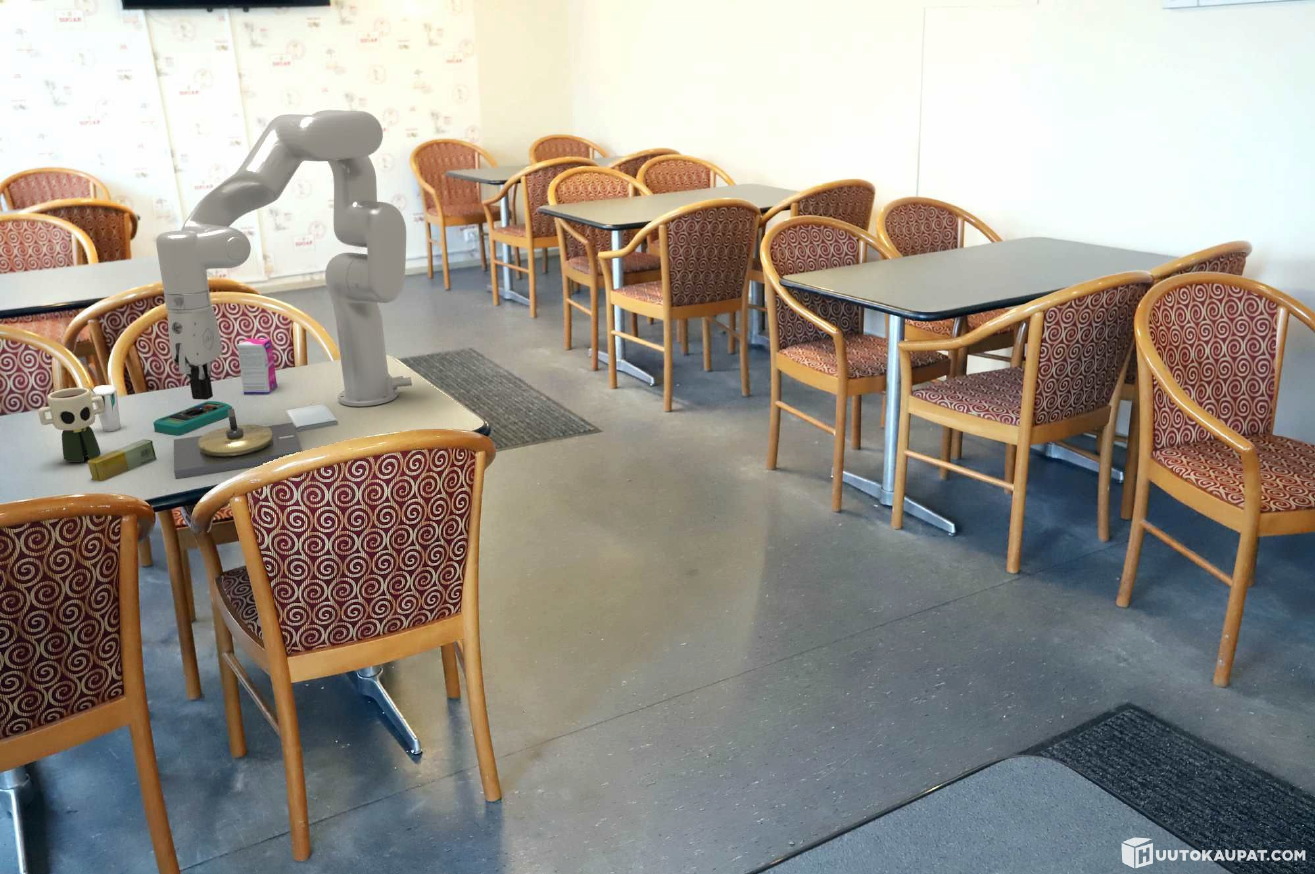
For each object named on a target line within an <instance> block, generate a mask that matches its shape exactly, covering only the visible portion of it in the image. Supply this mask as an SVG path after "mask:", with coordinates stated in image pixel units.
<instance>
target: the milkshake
mask: <svg viewBox="0 0 1315 874" xmlns="http://www.w3.org/2000/svg"><path fill="white" fill-rule="evenodd" d="M88 387H89V388H88V389H89V390H90V395H91V397H92V398H93V397H98V396H99V397H102V398H103V402H104V407H105V412H103V413H101V414H97V415H98V418H99V421H100V425H101V429H102V431H103V432H109V433H110V432H117V431H118V430H120V429H121V427H122V425H121V419H120V418H121V417H120V410H119V409H120V408H119V400H118V391H117V388H116V387H115V386H114V385H111V384H106V385H105V384H104V385H103V384H102V385H97V386H95V387H94V388H92V386H88ZM94 405H95V408H96V409H99V406H98V402H94Z"/></svg>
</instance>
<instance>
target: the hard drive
mask: <svg viewBox="0 0 1315 874" xmlns="http://www.w3.org/2000/svg"><path fill="white" fill-rule="evenodd" d="M285 415H286V417H287V419H288V421H289V423H293V425H294V428H295V431H296V433H298V432H303V431H309V430H315V429H321V428H326V427H333V426H339V422H338V420H337V418H336V417H335V415H334V414H333V413H332V412H331V410H330V409H329V408H328V407H327V406H326V404H324V403H323V404H315V405H309V406H304V407H297V408H292V409H291V408H290V409H287V410H285Z"/></svg>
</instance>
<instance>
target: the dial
mask: <svg viewBox="0 0 1315 874" xmlns="http://www.w3.org/2000/svg"><path fill="white" fill-rule="evenodd" d="M227 410H228V416H229V417H228V420H229V421H228V422H229V426H226V427H221V428H219V429H217V428H216V429H215V430H213V431H209V432H207V433H205V434H203V436H202V435H201V436H202V437H201V438H200V439H199V441H198V443H199V448H200V451H201V452H202V453H204V454H206V455H211V456H234V455H241V454H246V453H250V452H254V451H257V450H260V449H262V448H264V447H266V446H268V445H269V444H271V442H272V441H273V437H272V431H271V429H269V428H268V427H265V426H263V425H259V424H258V425H257V424H240V425H237V424H238V422H237V417H236V412H235V408H232V409H227Z"/></svg>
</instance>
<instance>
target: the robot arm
mask: <svg viewBox="0 0 1315 874" xmlns="http://www.w3.org/2000/svg"><path fill="white" fill-rule="evenodd" d="M383 138H384V131H383V127H382V125H381V123H380V121H379V120H378V119H377V118H376V117H375V116H374V115H373V114H372V113H369V112H367V111H363V110H339V109H338V110H337V109H335V110H333V109H328V110H326V109H325V110H320V111H316V112H315V113H312V114H293V113H292V114H288V113H287V114H282V115H281V114H280V115H278V116H276V117H274V118H273V119H271V121H270V122H269V123H268V125H267V126H266V128H265V129H264V131H263V132H262V133H261V135H260V137H259V138H258V139H257V141H256V142H255V144H254V145H253V147H252V149H251V151H250V152H249V153H248V155H247V156H246V158H245V159H244V161H243V162H242V164H241V165H240V167H239V168H238V169H237V171H236V172H235V173H234V174H232V175H231V176H229V177H228V178H226V179H225V180H224V181H222V182H221V183H220V184H219V185H217V186H216V187H215V188H213V189H212V190H211V191H209V193H207V194H206V195H205V196H204V197H202V199H201V200H200V201H199V202H198V203H197V204H196V206H195V207H194V208H193V210H192V211H191V213H190V215H188V217H187V219H186V220H185V222H184V223H183V226H182V227H181V229H180V230H170V231H166V232H162V233H160V234H159V235H157V237H156V240H155V244H156V245H155V246H156V250H157V259H158V264H159V269H160V270H159V271H160V276H161V283H162V289H163V296H164V303H165V308H166V312H167V326H168V328H167V329H168V340H169V348H170V349H169V350H170V354H171V359H172V362H173V364H174V365H175V366H177V367H178V373H179V374H180V375H186V376H187V380H189V384H190V391H191V398H192V399H193V400H205V401H206V400H207V401H209V400H210V399H211V398H213V396H214V394H213V387H212V381H211V380H212V379H211V375H212V364H213V362H215V360H216V359H218V358H219V357H221V355H222V354H223V344H222V339H221V333H220V329H219V324H218V320H217V316H216V312H215V310H214V306H213V304H212V301H211V293H210V287H209V280H208V274H207V273H208V272H207V271H208V270H210V269H212V270H213V269H214V270H215V269H234V268H236V267H239V266H241V265H243V264H244V263H245V262H246V261H247V260H248V258H249V257H250V255H251V251H252V250H251V249H252V247H251V241H250V240H249V238H248V237H247V235H246V234H245V233H243V232H242V231H241V230H239V229H237V228H234V227H231V225H232V224H233V223H235V222H236V221H237V220H238V219H241V217H242V216H245V215H246V214H248V213H251V212H254V211H256V210H259V209H261V208H264V207H266V206H268V205H270V204H272V203H274V202H275V201H276V202H277V200H279V198H280V197H281V196H282V194H283V192H284V191H285V189H286V187H287V186H288V184H289V183H290V181H291V180H292V178H293V177H294V175H295V173H296V171H297V170H299V167H300V166H301V164H302V163H303V162H304V161H305V162H327V163H328V164H329V167H330V169H331V172H332V177H333V220H332V221H333V233H334V235H335V237H336V238H337V240H338V241H339V242H341V243H342V244H344V245H348V246H353V247H358V248H367V249H366V251H367V252H366V253H361V252H360V253H359V252H342V253H339V254H336V255H335V256H334V257H332V258H331V259H330V260H329V261H328V263H327V265H326V267H325V274H324V279H325V284H326V287H327V288H326V289H327V290H328V294H329V296H330V299H331V304H332V308H333V311H334V313H333V314H334V317H335V318H334V319H335V324H336V333H337V339H338V347H339V355H340V363H341V371H342V378H343V379H342V380H343V386H344V390H342V391H340V392H339V394H338V395H337V398H338V399H337V400H338V402H339V403H340V404H341V405H344V406H348V407H371V406H377V405H382V404H386V403H389V402H392V401H393V400H395V399H397V397H398V396H399V393H398V388H400V387H403V388H404V387H409V386H410V387H411V386H412V384H413V383H412V378H411V376H408V377H407V376H406V377H404V376H403V375H402V376H400V375H399V376H396V377H394V376H391V374H390V373H389V369H388V359H387V350H386V341H385V333H384V321H383V318H382V317H383V315H382V313H381V309H380V306H379V305H378V304H388V303H392V302H394V301H395V300H396V299H398V298H399V297H400V295H401V294H402V292H403V289H404V286H405V279H406V261H407V260H406V258H407V226H406V222H405V218H404V216H403V214H402V212H401V211H400V209H398V207H396V206H394V205H393V204H391V203H389V202H384V201H378V195H377V194H378V192H377V191H378V190H377V189H378V188H377V176H376V175H377V174H376V169H375V167H374V164H373V162H372V160H371V157H370V156H371V155H372V154H374V153H375V152H377V151H378V149H379V148H380V146H381V145H382V142H383Z"/></svg>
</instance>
